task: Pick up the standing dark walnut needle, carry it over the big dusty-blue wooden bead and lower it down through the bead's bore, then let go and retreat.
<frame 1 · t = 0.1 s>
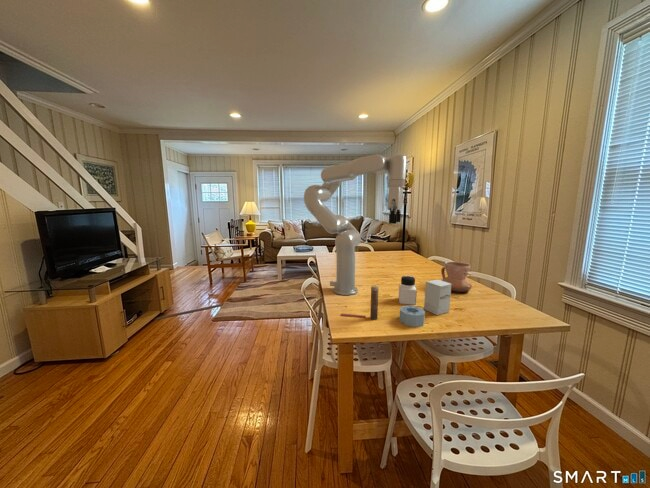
hand: (394, 222, 116), 37 cm above the table, tool pointing down, fingers open, 9 cm apart
medicine bottle: (406, 301, 119), on the table
needle: (373, 318, 102), on the table
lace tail: (353, 316, 103), on the table
bead: (411, 321, 99), on the table
ceramic jug: (454, 289, 135), on the table
supplement box: (436, 311, 109), on the table
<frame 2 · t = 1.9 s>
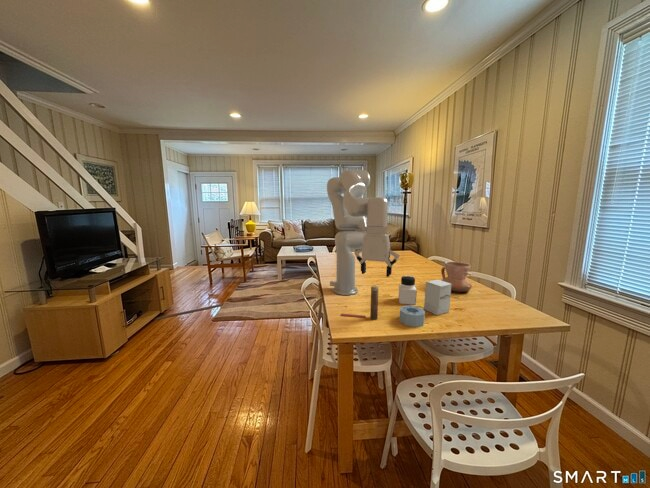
hand: (375, 274, 98), 18 cm above the table, tool pointing down, fingers open, 9 cm apart
nothing on the table moved.
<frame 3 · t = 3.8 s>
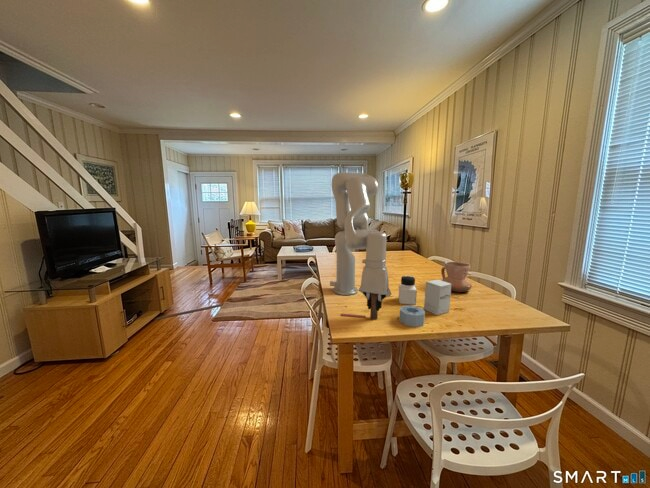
hand: (374, 308, 101), 4 cm above the table, tool pointing down, fingers closed on needle, 2 cm apart
needle: (373, 318, 102), on the table, touching gripper
everything else where it was.
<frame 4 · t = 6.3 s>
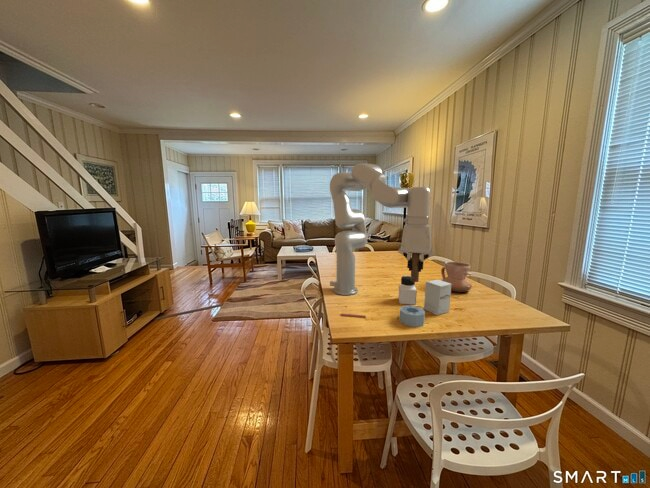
hand: (415, 270, 95), 21 cm above the table, tool pointing down, fingers closed on needle, 2 cm apart
needle: (414, 280, 96), point 16 cm above the table, touching gripper
everything else where it was.
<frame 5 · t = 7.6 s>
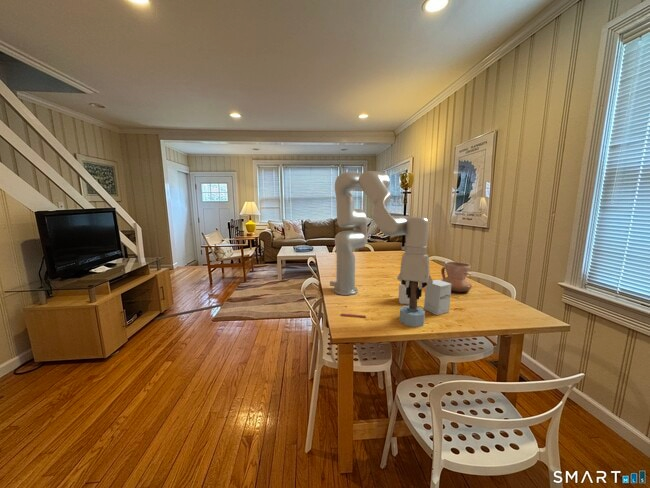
hand: (413, 297, 97), 10 cm above the table, tool pointing down, fingers closed on needle, 2 cm apart
needle: (413, 307, 98), point 6 cm above the table, touching gripper
everything else where it was.
when the fingers open (6 cm above the table, at t = 8.6 s): needle drops 1 cm, resting in bead.
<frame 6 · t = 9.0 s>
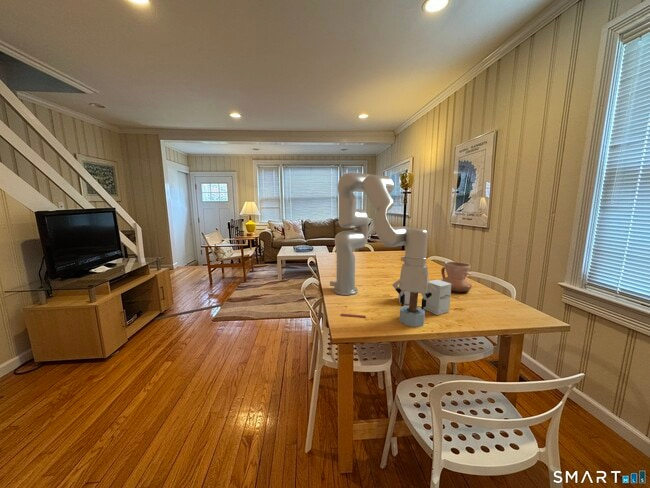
hand: (412, 306, 98), 6 cm above the table, tool pointing down, fingers open, 6 cm apart
needle: (411, 321, 99), resting in bead
everything else where it was.
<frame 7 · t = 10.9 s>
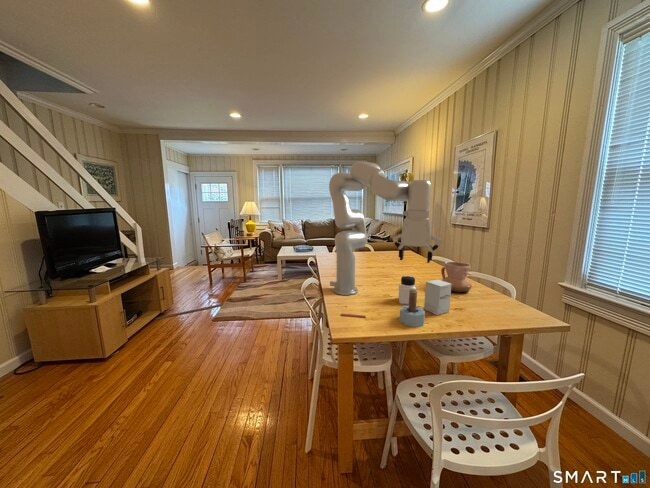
hand: (414, 260, 95), 24 cm above the table, tool pointing down, fingers open, 9 cm apart
nothing on the table moved.
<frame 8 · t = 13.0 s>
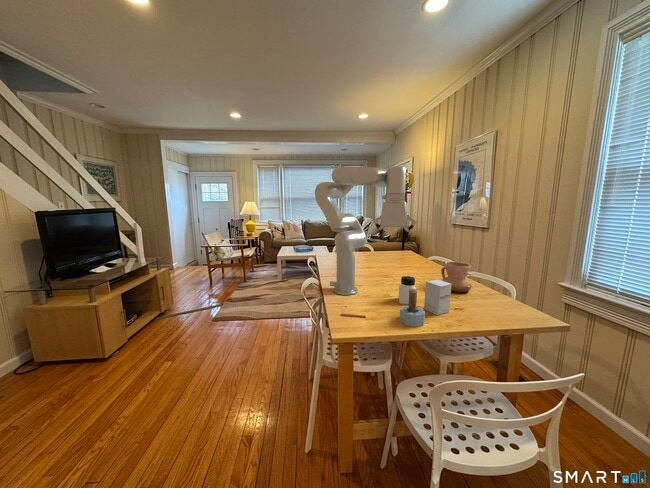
hand: (393, 240, 105), 30 cm above the table, tool pointing down, fingers open, 9 cm apart
nothing on the table moved.
at the end: needle 0.1 cm off-centre on the bead, point 0.0 cm above the bead's base; needle tilted 0°; the gripper is holding nothing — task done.
